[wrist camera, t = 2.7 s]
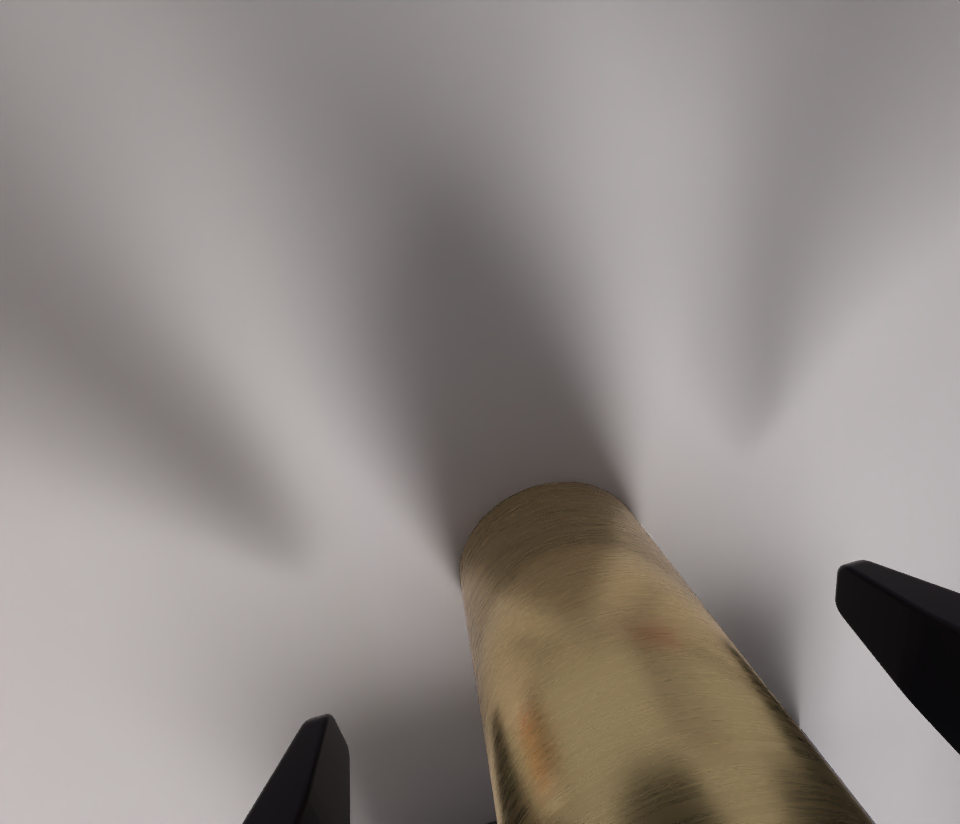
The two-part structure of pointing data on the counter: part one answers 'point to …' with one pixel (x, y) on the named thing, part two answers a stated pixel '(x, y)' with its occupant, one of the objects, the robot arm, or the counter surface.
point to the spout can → (621, 681)
